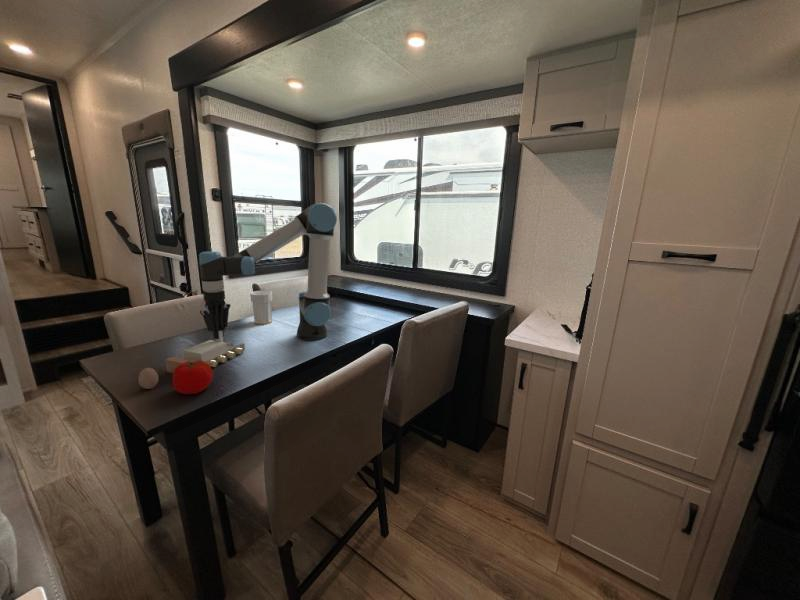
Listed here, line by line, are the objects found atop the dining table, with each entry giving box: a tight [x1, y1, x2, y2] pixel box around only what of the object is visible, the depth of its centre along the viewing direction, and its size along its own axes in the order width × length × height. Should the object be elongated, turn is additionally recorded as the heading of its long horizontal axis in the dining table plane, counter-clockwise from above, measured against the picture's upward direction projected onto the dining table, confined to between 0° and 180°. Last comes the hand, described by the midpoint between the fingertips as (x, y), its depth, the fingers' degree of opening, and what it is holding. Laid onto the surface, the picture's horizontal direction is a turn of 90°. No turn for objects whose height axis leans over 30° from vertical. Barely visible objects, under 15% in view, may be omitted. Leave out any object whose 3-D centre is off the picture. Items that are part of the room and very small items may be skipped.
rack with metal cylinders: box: [165, 341, 246, 374], centre depth 129 cm, size 14×27×5 cm, turn 163°
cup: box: [249, 290, 273, 326], centre depth 177 cm, size 11×11×17 cm
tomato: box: [172, 360, 214, 395], centre depth 105 cm, size 12×12×10 cm
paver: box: [183, 339, 228, 362], centre depth 126 cm, size 9×12×4 cm
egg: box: [137, 367, 160, 390], centre depth 106 cm, size 5×5×7 cm
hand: (219, 345), depth 132 cm, fingers closed
